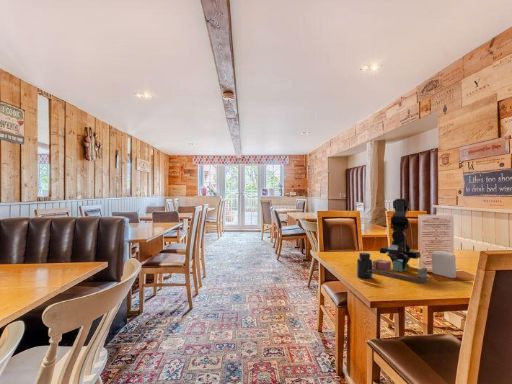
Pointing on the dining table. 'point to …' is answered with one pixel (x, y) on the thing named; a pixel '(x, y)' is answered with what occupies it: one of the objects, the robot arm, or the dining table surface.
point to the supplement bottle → (364, 266)
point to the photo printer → (444, 264)
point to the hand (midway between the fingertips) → (399, 268)
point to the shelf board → (394, 274)
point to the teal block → (398, 265)
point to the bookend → (423, 274)
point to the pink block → (384, 265)
